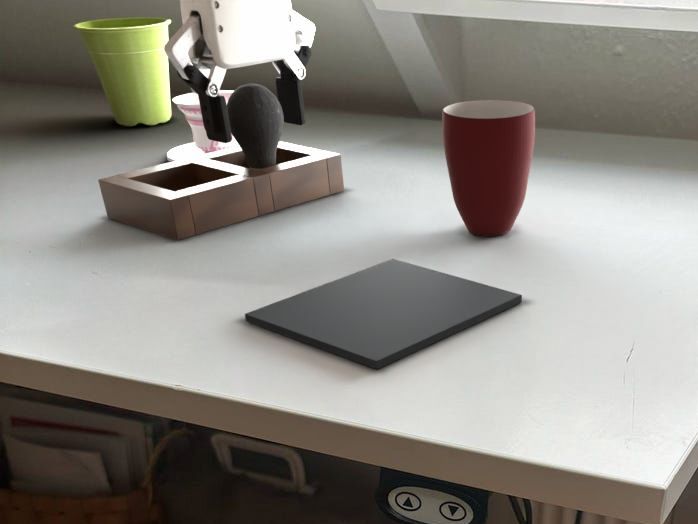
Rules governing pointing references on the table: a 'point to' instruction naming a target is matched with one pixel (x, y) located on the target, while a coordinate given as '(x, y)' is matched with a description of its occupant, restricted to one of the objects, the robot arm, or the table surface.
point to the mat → (383, 311)
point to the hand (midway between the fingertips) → (257, 131)
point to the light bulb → (256, 124)
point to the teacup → (197, 129)
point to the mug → (488, 161)
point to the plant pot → (131, 66)
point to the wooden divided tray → (218, 189)
